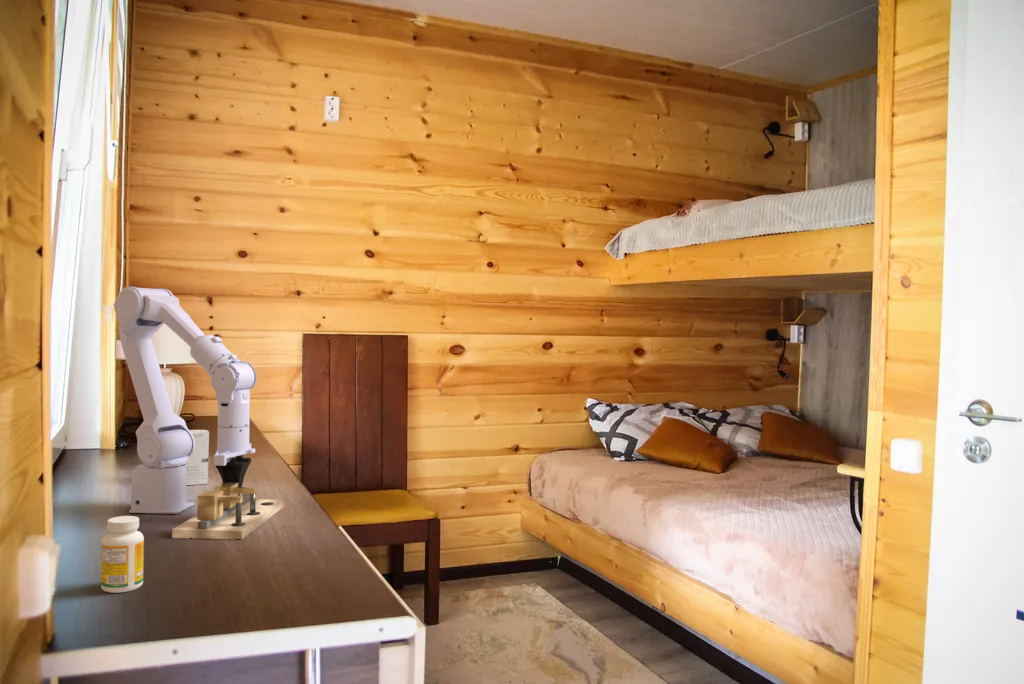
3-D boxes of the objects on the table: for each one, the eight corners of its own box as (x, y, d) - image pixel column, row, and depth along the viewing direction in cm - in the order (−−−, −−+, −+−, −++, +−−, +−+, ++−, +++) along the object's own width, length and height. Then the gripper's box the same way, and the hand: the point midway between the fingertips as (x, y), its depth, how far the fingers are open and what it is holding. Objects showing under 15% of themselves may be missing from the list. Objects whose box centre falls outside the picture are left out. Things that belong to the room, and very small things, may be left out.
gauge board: (172, 538, 137) (172, 497, 137) (224, 505, 161) (224, 471, 161) (241, 539, 137) (242, 499, 137) (283, 507, 161) (283, 472, 161)
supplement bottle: (111, 596, 108) (111, 526, 108) (94, 587, 112) (94, 519, 111) (150, 586, 112) (151, 519, 112) (133, 578, 116) (133, 512, 115)
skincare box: (180, 486, 178) (181, 432, 178) (176, 483, 182) (177, 430, 182) (209, 484, 182) (209, 431, 182) (204, 480, 186) (205, 428, 185)
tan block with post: (213, 513, 146) (214, 486, 146) (221, 508, 150) (222, 482, 150) (251, 514, 146) (252, 487, 146) (258, 509, 150) (259, 483, 150)
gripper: (241, 431, 144) (240, 506, 145) (266, 421, 159) (266, 489, 159) (202, 430, 144) (201, 505, 145) (231, 420, 159) (230, 488, 159)
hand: (233, 496), depth 152 cm, fingers closed
